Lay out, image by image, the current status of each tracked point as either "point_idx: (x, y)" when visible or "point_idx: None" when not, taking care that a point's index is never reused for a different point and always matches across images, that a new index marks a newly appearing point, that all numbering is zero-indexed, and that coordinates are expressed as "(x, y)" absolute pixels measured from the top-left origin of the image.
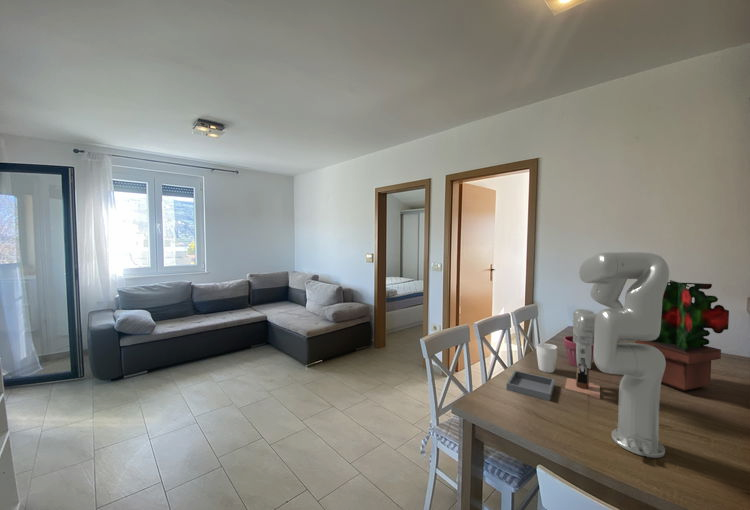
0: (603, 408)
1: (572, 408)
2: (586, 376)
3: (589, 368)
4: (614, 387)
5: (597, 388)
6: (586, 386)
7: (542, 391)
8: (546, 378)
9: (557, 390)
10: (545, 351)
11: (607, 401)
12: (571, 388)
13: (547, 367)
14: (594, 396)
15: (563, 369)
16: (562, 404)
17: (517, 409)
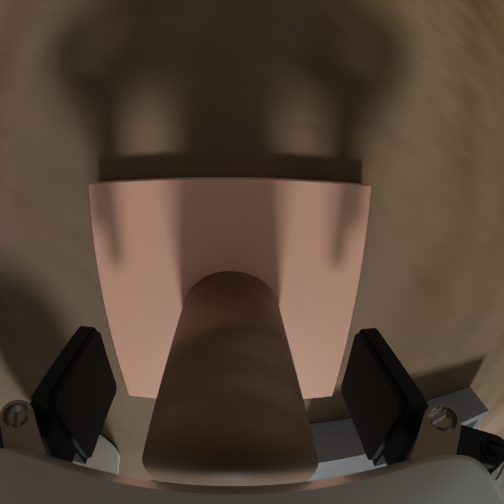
0: (475, 181)
1: (498, 316)
2: (408, 385)
3: (472, 459)
4: (45, 87)
5: (189, 199)
6: (271, 298)
7: None
8: (316, 478)
9: (342, 407)
10: None
11: (376, 134)
12: (317, 370)
13: (111, 470)
14: (363, 224)
15: (8, 376)
16: (475, 353)
17: (496, 415)
